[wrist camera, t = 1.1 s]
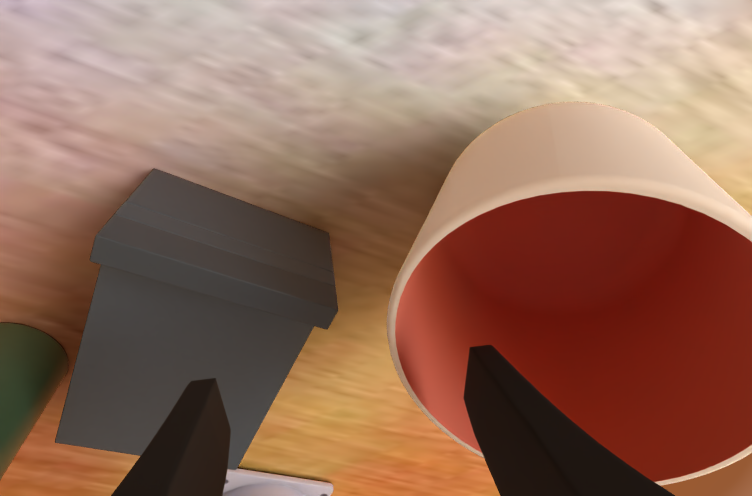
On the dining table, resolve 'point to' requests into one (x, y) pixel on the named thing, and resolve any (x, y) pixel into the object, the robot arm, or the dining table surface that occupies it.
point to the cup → (587, 288)
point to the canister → (25, 383)
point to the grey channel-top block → (193, 313)
